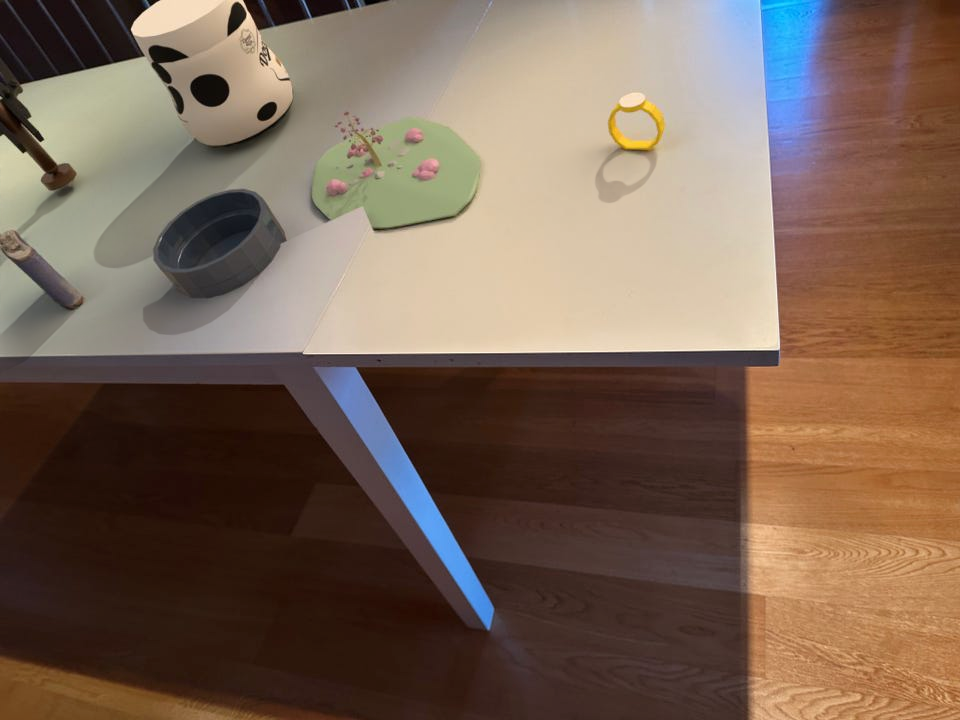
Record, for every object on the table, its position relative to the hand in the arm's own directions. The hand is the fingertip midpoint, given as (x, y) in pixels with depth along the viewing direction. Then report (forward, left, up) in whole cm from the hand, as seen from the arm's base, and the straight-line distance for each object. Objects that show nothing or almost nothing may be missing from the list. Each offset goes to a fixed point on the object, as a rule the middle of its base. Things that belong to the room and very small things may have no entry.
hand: (30, 142), depth 97 cm
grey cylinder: (0, -26, -10) cm, 28 cm away
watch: (+71, -48, -10) cm, 87 cm away
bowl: (+23, -36, -10) cm, 44 cm away
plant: (+46, -33, -10) cm, 58 cm away
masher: (-2, +3, -8) cm, 9 cm away
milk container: (+29, -2, -10) cm, 31 cm away
